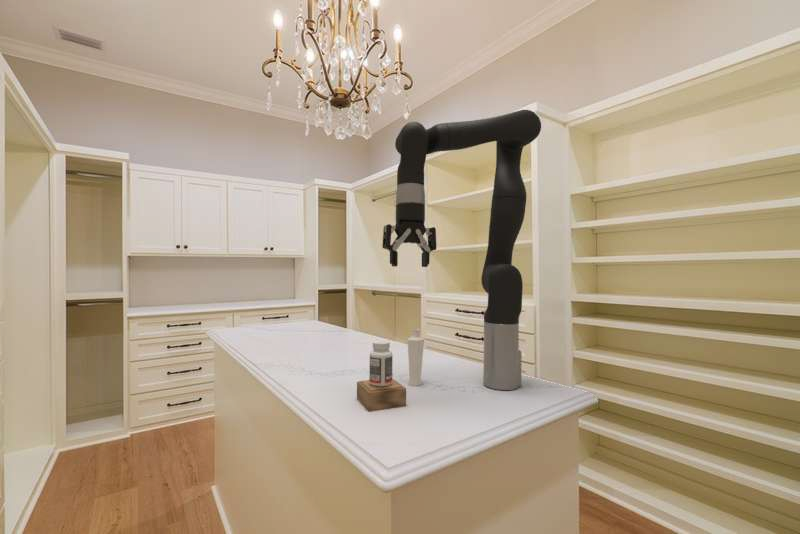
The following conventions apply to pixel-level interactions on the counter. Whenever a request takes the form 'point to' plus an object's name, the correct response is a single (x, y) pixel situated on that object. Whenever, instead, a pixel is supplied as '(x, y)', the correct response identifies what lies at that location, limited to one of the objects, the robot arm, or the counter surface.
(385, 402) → the base block
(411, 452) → the counter surface
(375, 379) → the pill bottle
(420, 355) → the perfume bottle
